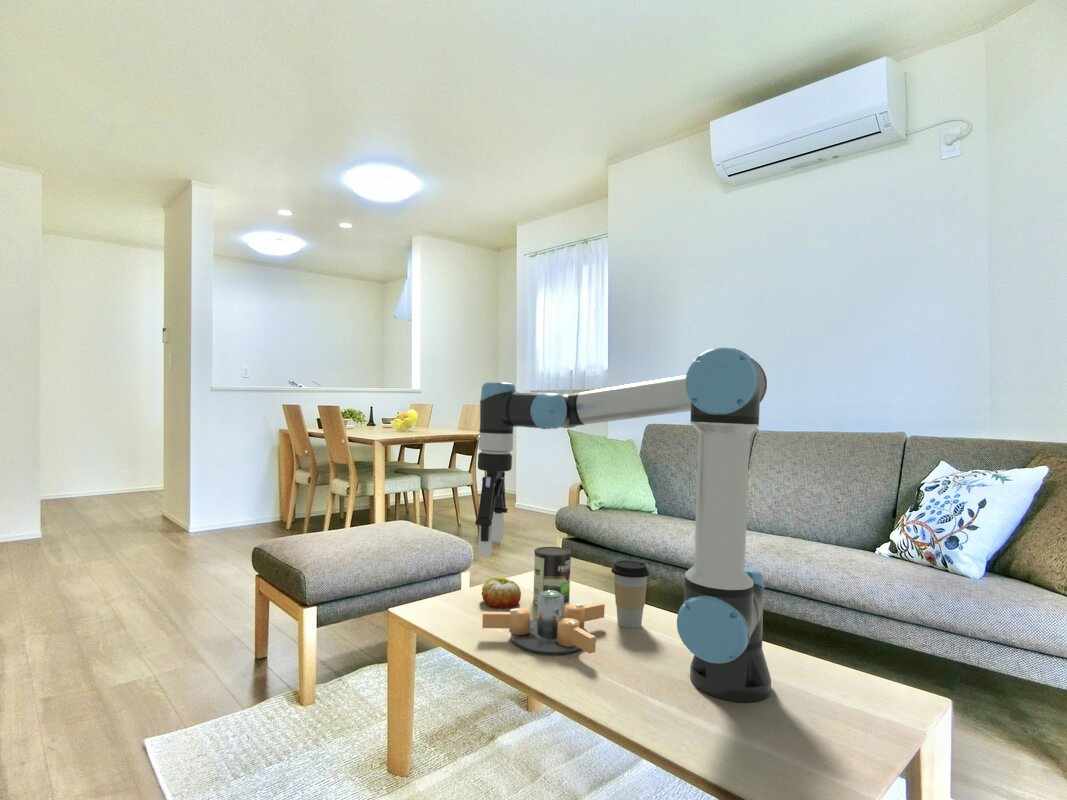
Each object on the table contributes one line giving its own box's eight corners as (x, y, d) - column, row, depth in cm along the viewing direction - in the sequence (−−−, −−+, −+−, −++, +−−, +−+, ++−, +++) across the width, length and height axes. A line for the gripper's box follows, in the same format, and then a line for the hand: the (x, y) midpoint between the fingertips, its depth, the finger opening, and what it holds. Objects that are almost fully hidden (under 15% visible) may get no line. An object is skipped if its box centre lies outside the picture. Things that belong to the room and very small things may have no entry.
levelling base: (599, 634, 135) (601, 587, 135) (569, 662, 119) (571, 609, 119) (532, 619, 143) (534, 575, 143) (496, 644, 127) (497, 594, 127)
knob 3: (552, 640, 126) (553, 618, 126) (570, 636, 128) (570, 614, 128) (583, 659, 116) (583, 635, 117) (601, 654, 119) (601, 631, 119)
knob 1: (529, 626, 133) (530, 606, 133) (530, 634, 128) (531, 613, 128) (482, 626, 133) (483, 605, 133) (481, 634, 128) (482, 613, 128)
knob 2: (572, 631, 131) (572, 610, 131) (560, 624, 135) (560, 604, 136) (608, 622, 137) (608, 602, 137) (595, 616, 141) (596, 597, 141)
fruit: (471, 603, 152) (477, 573, 155) (494, 605, 161) (499, 576, 163) (504, 611, 146) (510, 579, 148) (526, 613, 154) (531, 582, 157)
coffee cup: (656, 626, 140) (657, 566, 141) (628, 634, 135) (630, 571, 136) (629, 615, 148) (630, 557, 149) (602, 621, 143) (603, 562, 143)
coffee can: (576, 600, 159) (577, 550, 159) (557, 610, 150) (559, 557, 150) (545, 593, 164) (546, 544, 165) (525, 602, 156) (527, 551, 156)
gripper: (489, 447, 138) (485, 534, 137) (465, 455, 113) (460, 561, 113) (520, 449, 137) (516, 537, 136) (502, 457, 112) (497, 564, 112)
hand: (490, 548), depth 124 cm, fingers open, 13 cm apart
